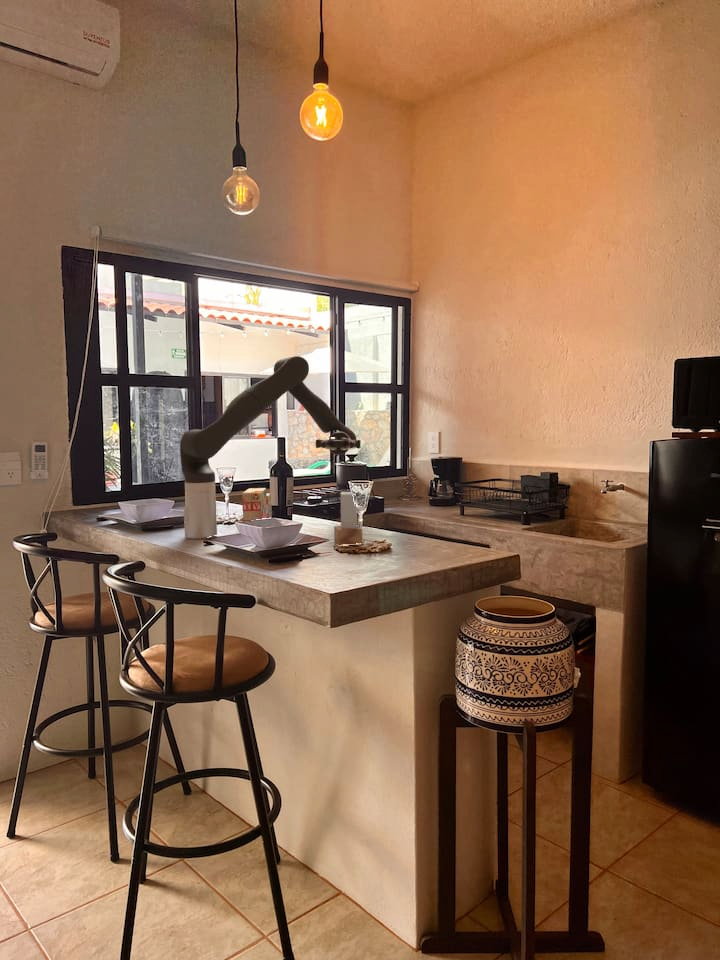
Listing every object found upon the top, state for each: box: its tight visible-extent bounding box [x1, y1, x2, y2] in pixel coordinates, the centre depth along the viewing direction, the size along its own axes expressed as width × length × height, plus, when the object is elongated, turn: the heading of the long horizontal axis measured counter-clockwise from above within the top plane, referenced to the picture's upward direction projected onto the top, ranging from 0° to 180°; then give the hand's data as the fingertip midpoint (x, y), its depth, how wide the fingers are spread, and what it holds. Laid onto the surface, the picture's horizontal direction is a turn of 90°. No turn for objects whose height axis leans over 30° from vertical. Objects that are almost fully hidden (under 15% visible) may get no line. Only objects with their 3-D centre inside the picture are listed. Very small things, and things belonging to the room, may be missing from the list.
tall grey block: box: [340, 491, 358, 529], centre depth 199 cm, size 4×4×10 cm
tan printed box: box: [241, 487, 272, 523], centre depth 238 cm, size 21×6×12 cm, turn 178°
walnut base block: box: [333, 524, 363, 545], centre depth 200 cm, size 7×7×5 cm
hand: (337, 444), depth 212 cm, fingers open, 8 cm apart
